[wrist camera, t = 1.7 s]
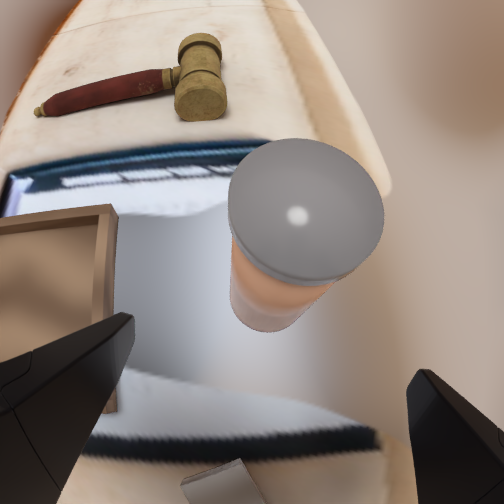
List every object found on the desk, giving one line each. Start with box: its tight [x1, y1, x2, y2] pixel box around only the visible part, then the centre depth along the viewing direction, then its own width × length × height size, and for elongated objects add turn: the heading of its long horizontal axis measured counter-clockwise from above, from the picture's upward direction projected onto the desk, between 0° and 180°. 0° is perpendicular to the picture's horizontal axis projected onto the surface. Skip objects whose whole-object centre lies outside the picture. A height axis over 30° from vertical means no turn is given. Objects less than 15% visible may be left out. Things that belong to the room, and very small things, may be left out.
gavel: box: [34, 33, 227, 122], centre depth 27 cm, size 21×5×10 cm
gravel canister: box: [228, 138, 384, 332], centre depth 16 cm, size 5×5×12 cm
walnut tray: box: [0, 204, 119, 414], centre depth 19 cm, size 14×13×2 cm
